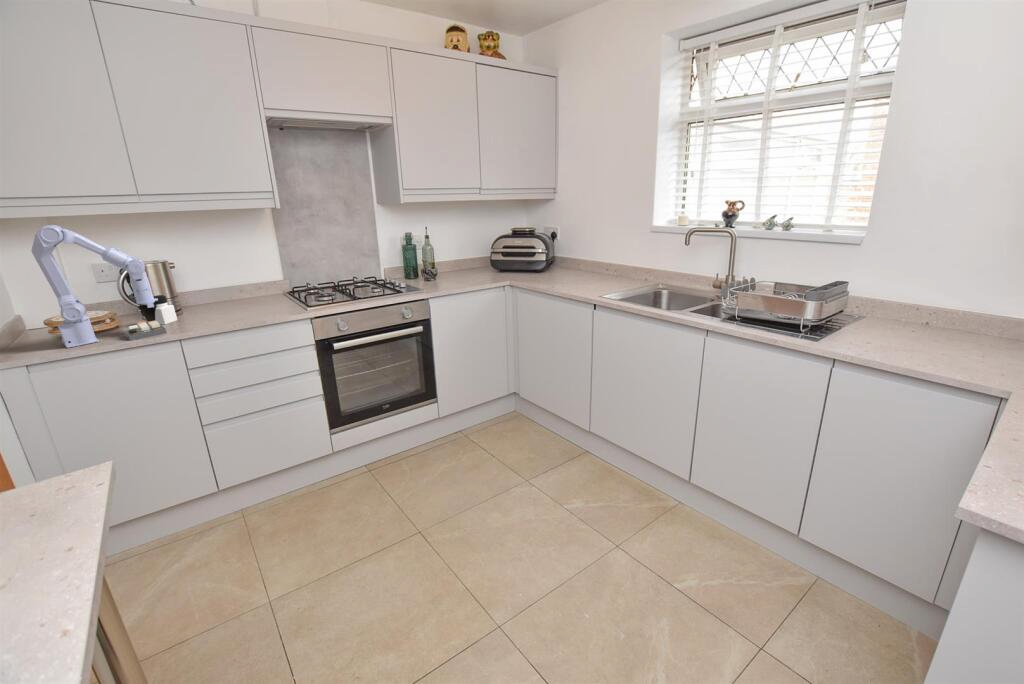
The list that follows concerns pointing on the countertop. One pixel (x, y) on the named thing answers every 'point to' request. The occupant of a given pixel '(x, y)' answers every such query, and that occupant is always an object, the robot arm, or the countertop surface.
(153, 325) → the rocker
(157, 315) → the medicine bottle
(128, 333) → the console
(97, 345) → the countertop surface
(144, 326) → the rocker
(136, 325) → the rocker
